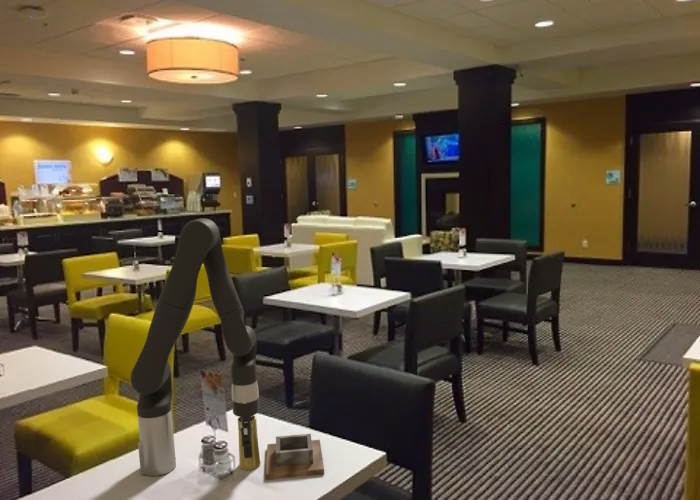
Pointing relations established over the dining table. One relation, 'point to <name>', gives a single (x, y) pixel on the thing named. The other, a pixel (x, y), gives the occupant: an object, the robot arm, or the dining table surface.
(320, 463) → the dock
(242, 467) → the vase
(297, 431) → the dining table surface
